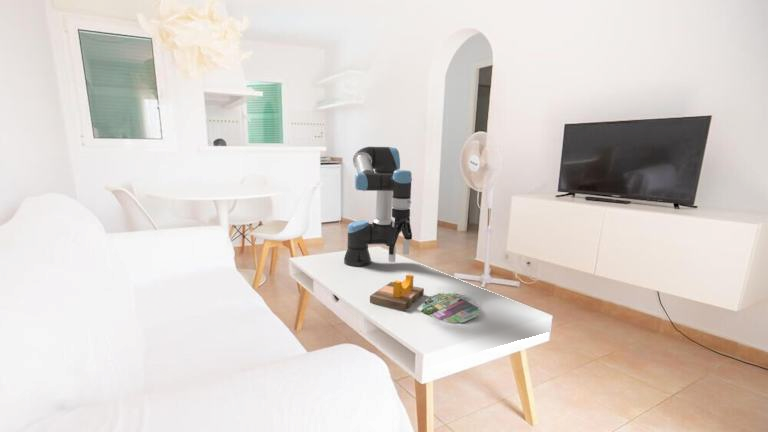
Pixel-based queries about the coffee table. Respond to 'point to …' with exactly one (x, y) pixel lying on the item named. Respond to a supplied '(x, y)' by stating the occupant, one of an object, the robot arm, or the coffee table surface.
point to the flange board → (401, 303)
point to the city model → (451, 307)
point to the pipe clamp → (403, 286)
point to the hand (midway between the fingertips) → (399, 257)
